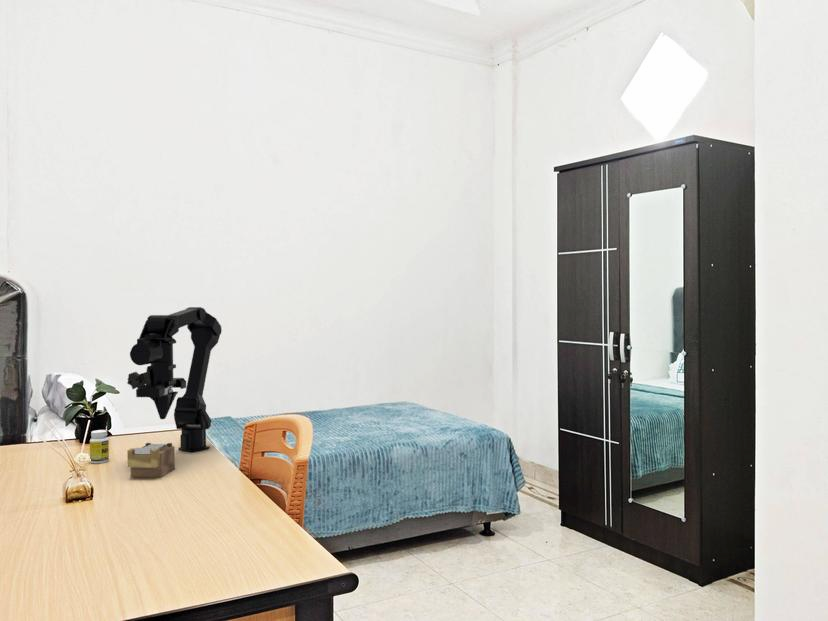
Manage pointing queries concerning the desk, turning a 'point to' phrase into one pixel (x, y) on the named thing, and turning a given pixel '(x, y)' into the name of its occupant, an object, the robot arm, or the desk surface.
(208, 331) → the robot arm
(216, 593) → the desk surface
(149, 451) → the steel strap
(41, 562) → the desk surface
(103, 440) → the supplement bottle
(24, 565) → the desk surface
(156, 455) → the walnut box
